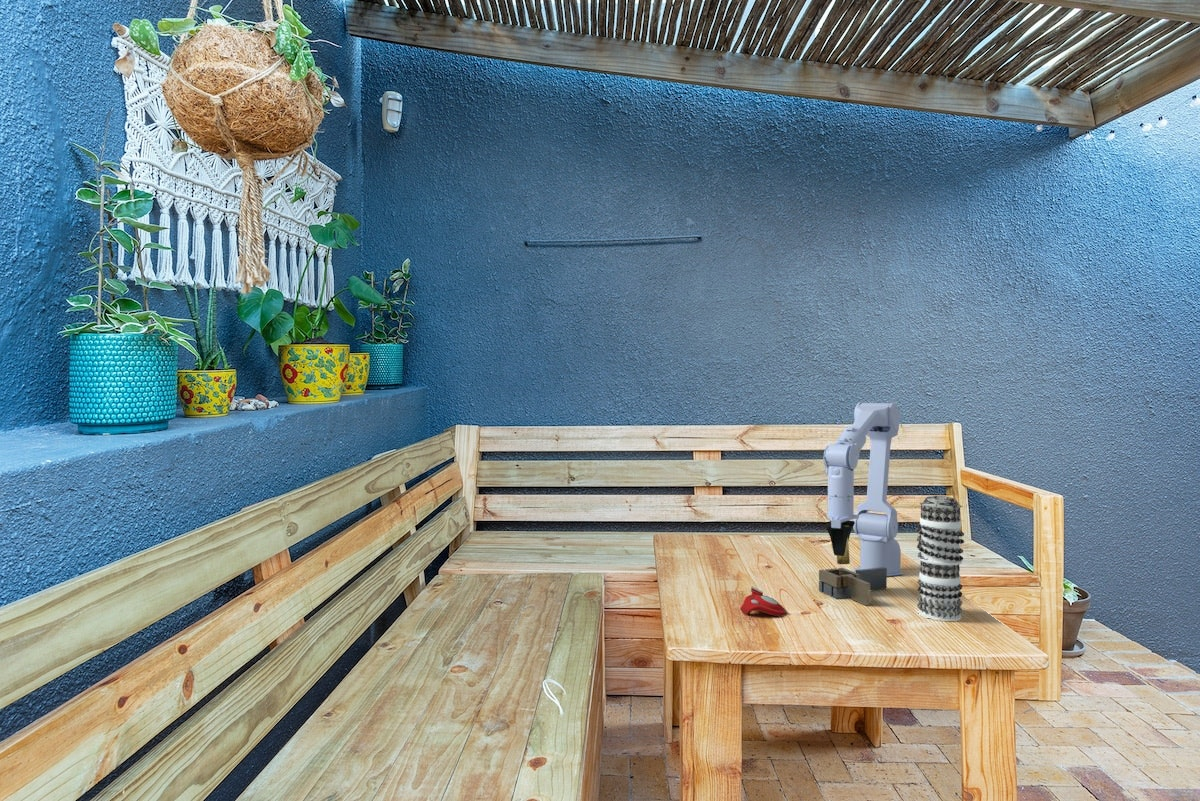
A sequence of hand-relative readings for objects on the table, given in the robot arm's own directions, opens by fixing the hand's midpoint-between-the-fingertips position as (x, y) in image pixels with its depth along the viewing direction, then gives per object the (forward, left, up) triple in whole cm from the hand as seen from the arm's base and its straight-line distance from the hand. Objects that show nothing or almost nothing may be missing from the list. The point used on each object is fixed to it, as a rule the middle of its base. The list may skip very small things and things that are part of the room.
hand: (840, 553), depth 168 cm
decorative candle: (-10, +20, -10) cm, 24 cm away
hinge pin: (0, +1, -2) cm, 2 cm away
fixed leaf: (-5, 0, -9) cm, 11 cm away
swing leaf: (0, +3, -9) cm, 10 cm away
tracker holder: (+23, +4, -10) cm, 25 cm away
